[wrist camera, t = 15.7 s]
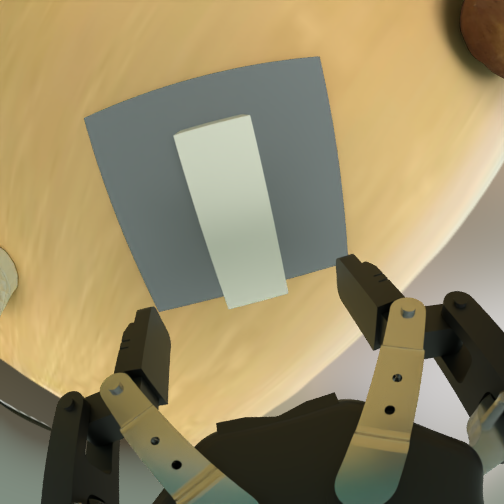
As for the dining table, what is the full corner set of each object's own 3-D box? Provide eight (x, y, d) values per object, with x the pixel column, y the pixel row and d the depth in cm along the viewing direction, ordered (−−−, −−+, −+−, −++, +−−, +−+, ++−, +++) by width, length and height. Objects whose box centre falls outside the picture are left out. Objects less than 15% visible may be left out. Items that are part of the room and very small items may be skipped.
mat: (159, 309, 30) (159, 311, 29) (85, 117, 20) (83, 118, 20) (346, 259, 30) (348, 261, 30) (317, 57, 21) (319, 56, 20)
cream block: (275, 263, 28) (241, 114, 22) (288, 293, 24) (250, 114, 17) (224, 277, 28) (180, 130, 22) (228, 309, 24) (173, 135, 17)
